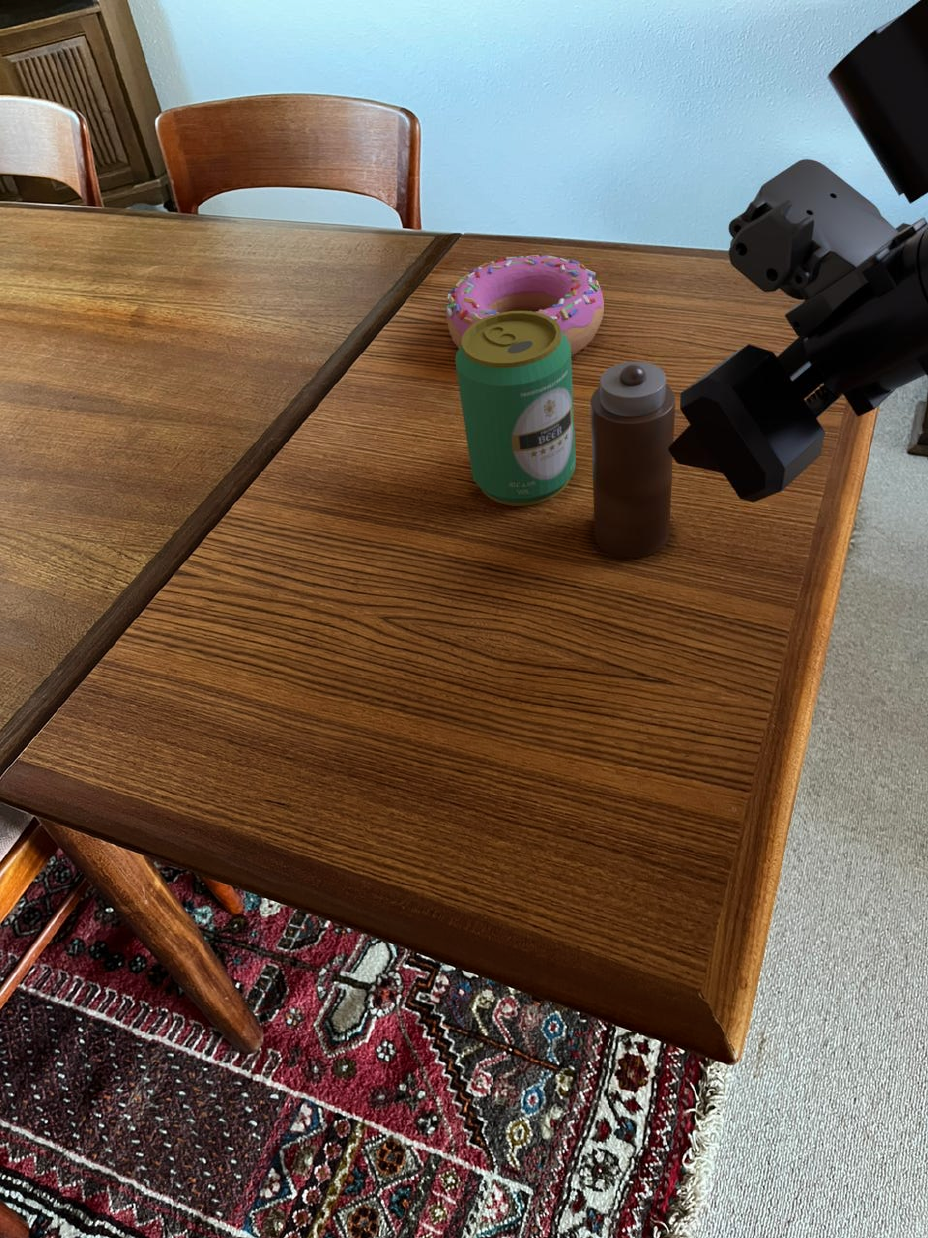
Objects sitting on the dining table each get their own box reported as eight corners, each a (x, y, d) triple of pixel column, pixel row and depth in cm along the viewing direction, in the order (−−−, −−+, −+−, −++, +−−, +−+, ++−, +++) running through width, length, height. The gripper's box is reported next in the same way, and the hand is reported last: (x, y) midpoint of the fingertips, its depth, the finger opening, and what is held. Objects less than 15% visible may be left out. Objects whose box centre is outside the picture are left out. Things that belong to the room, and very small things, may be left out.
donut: (624, 305, 88) (624, 253, 85) (573, 387, 80) (571, 334, 76) (485, 291, 93) (479, 242, 90) (424, 367, 85) (415, 316, 81)
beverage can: (512, 524, 68) (496, 382, 60) (453, 474, 73) (430, 336, 65) (597, 478, 71) (594, 335, 62) (534, 432, 76) (523, 294, 67)
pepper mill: (667, 509, 67) (674, 340, 58) (671, 558, 64) (679, 387, 54) (594, 511, 68) (589, 345, 59) (594, 559, 65) (589, 392, 55)
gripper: (969, 48, 43) (738, 231, 57) (735, 203, 35) (533, 372, 49) (1091, 255, 44) (836, 384, 58) (893, 450, 36) (652, 546, 50)
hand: (722, 415), depth 54 cm, fingers open, 9 cm apart
